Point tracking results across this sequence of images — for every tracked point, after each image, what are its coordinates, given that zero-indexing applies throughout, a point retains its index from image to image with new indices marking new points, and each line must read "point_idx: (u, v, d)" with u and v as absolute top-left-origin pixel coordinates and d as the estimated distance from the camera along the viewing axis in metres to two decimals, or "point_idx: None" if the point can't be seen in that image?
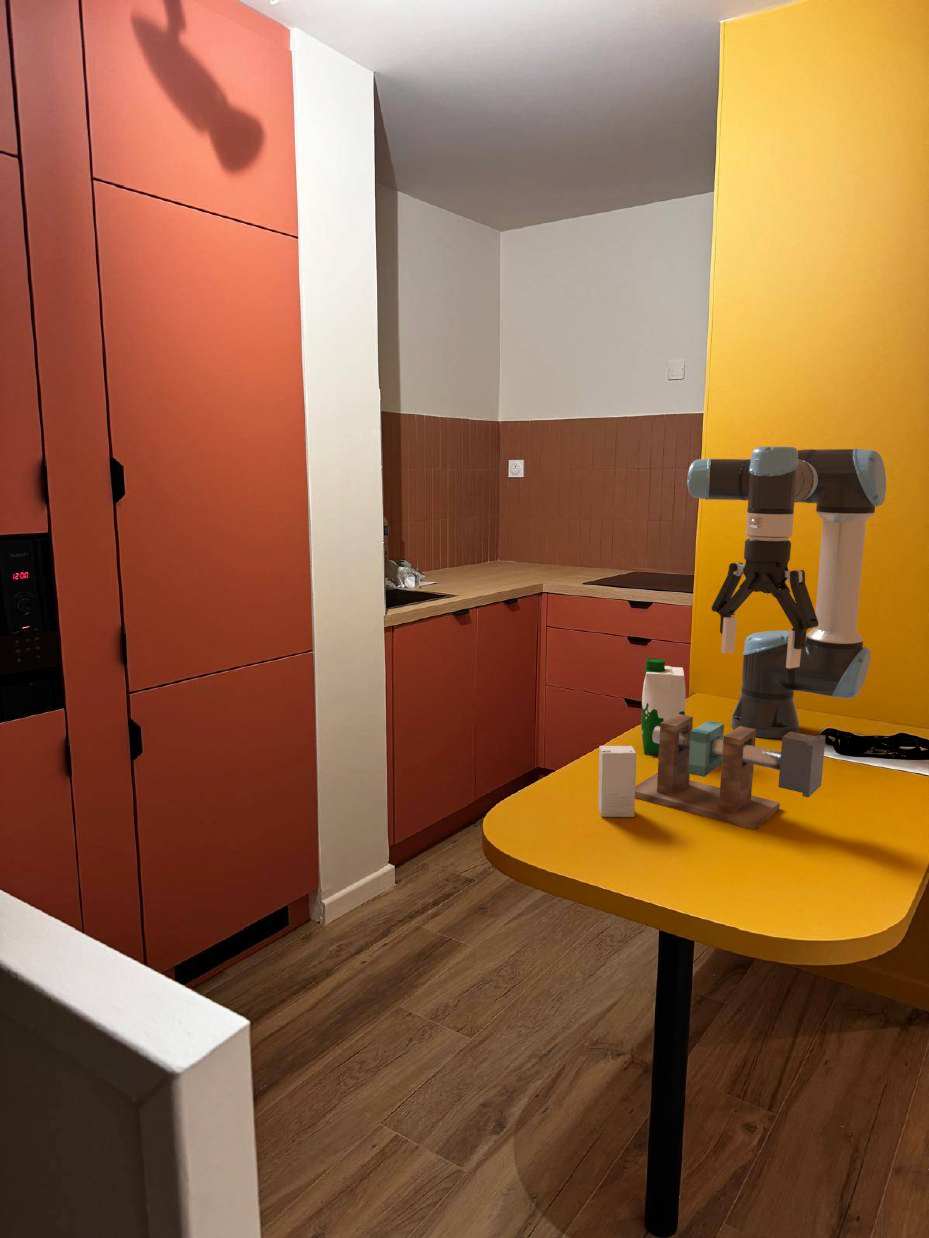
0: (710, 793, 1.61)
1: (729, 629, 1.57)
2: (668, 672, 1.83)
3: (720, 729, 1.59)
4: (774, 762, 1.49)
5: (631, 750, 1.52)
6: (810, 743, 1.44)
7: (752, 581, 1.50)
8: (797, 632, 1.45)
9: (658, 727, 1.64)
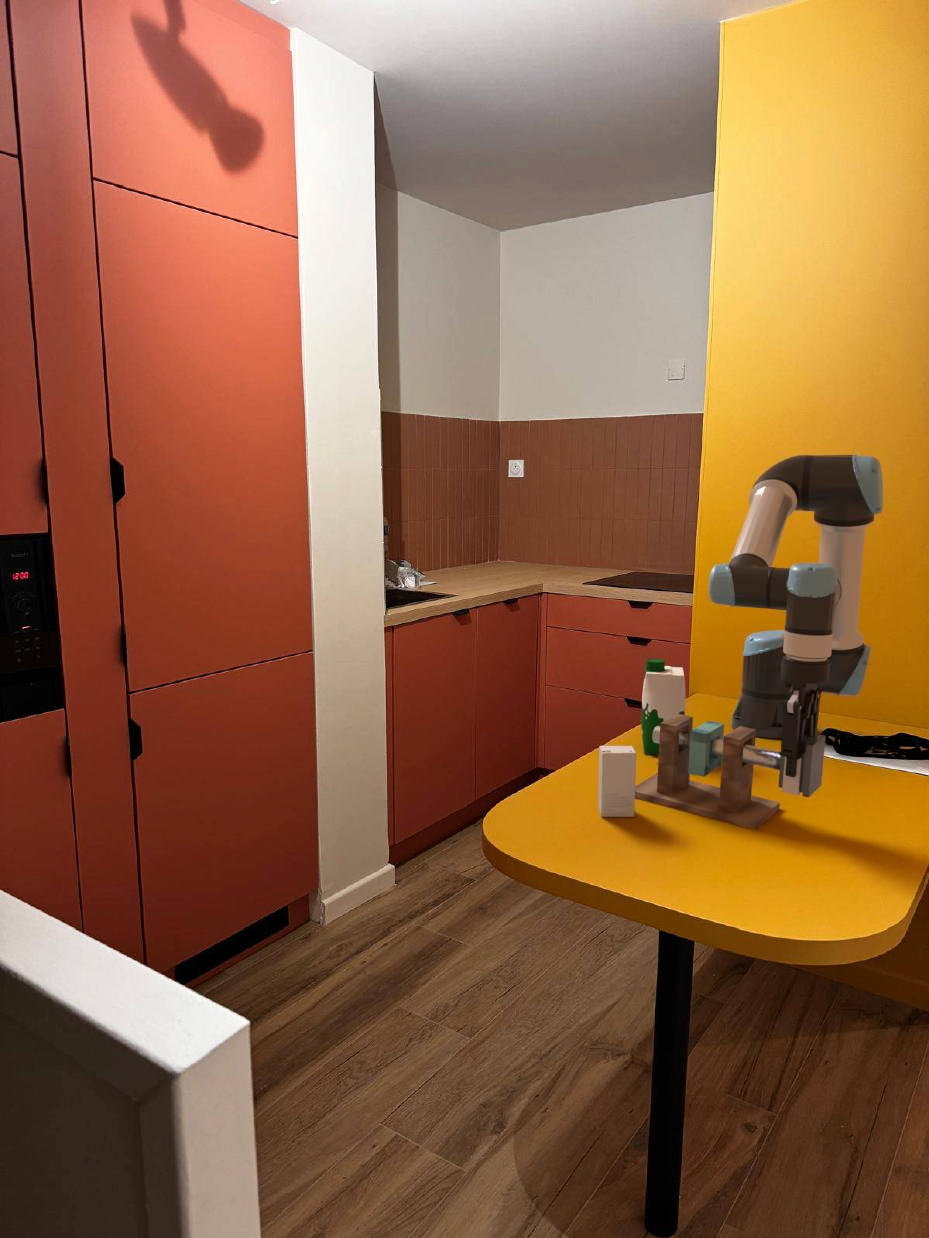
0: (710, 793, 1.61)
1: None
2: (668, 672, 1.83)
3: (720, 729, 1.59)
4: (774, 762, 1.49)
5: (631, 750, 1.52)
6: (810, 743, 1.44)
7: None
8: None
9: (658, 727, 1.64)
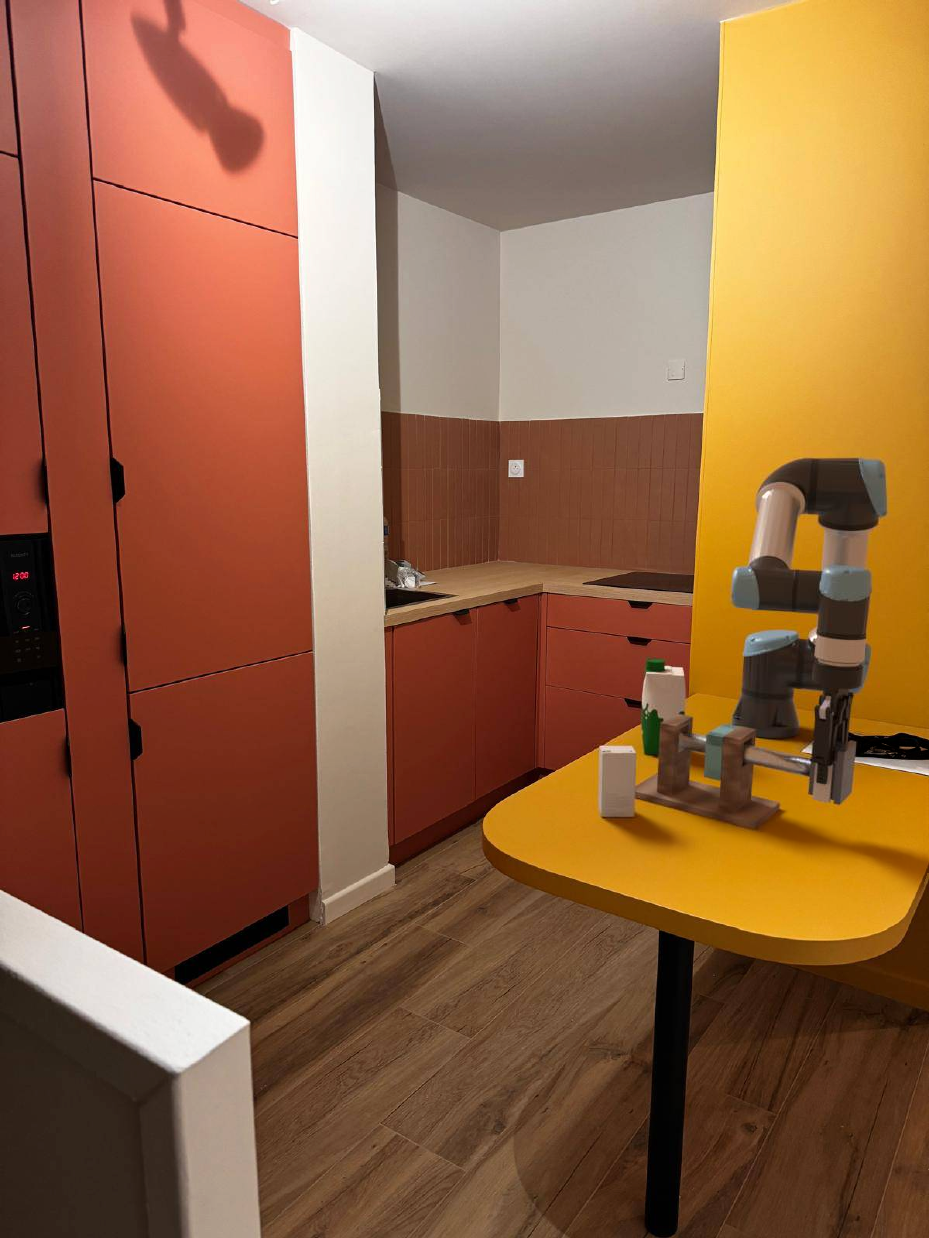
0: (710, 793, 1.61)
1: None
2: (668, 672, 1.83)
3: None
4: (804, 769, 1.46)
5: (631, 750, 1.52)
6: (842, 749, 1.41)
7: None
8: None
9: (683, 732, 1.61)
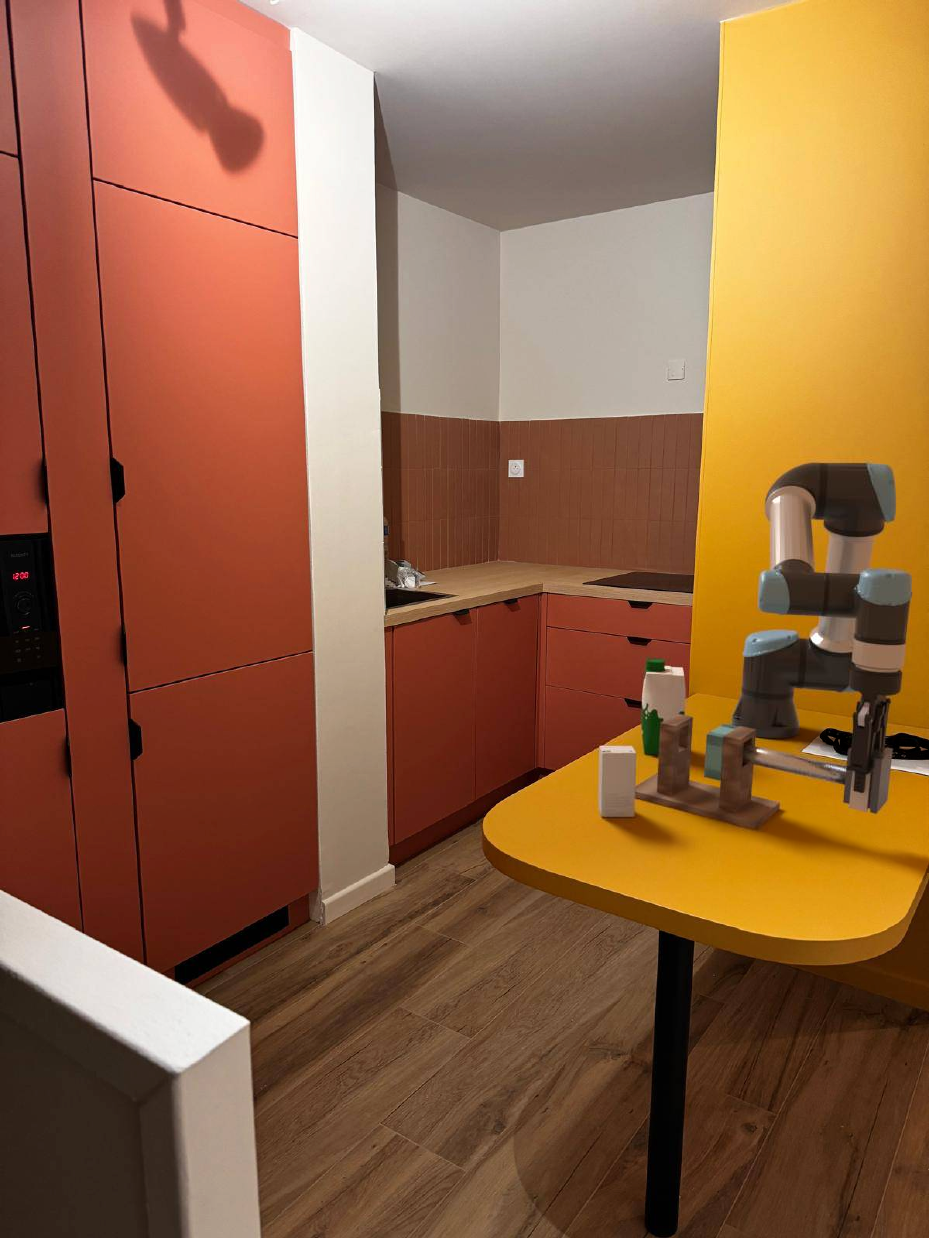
0: (710, 793, 1.61)
1: None
2: (668, 672, 1.83)
3: None
4: (839, 776, 1.43)
5: (631, 750, 1.52)
6: (879, 757, 1.38)
7: None
8: None
9: None
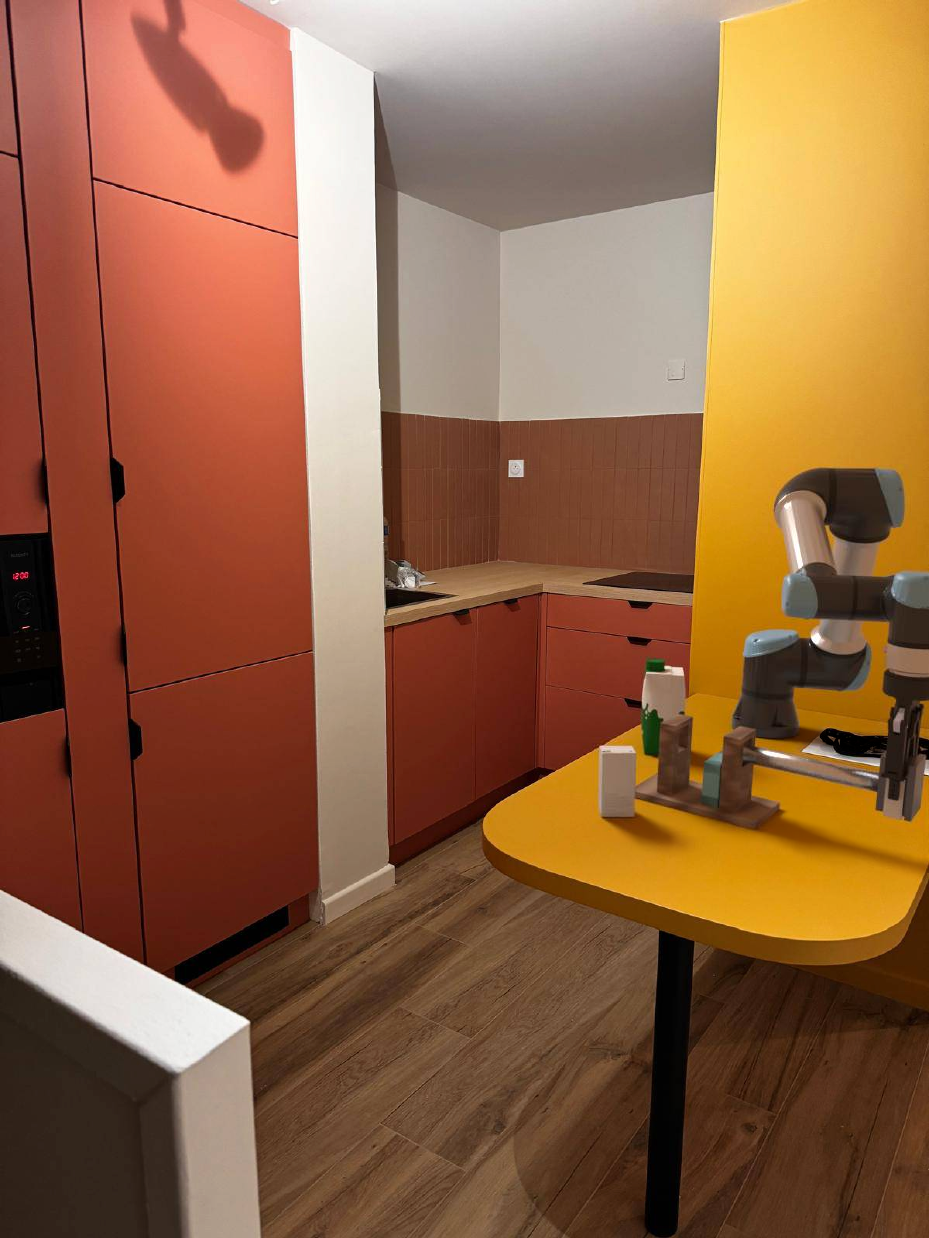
0: None
1: None
2: (668, 672, 1.83)
3: None
4: (871, 783, 1.40)
5: (631, 750, 1.52)
6: (913, 764, 1.35)
7: None
8: None
9: None
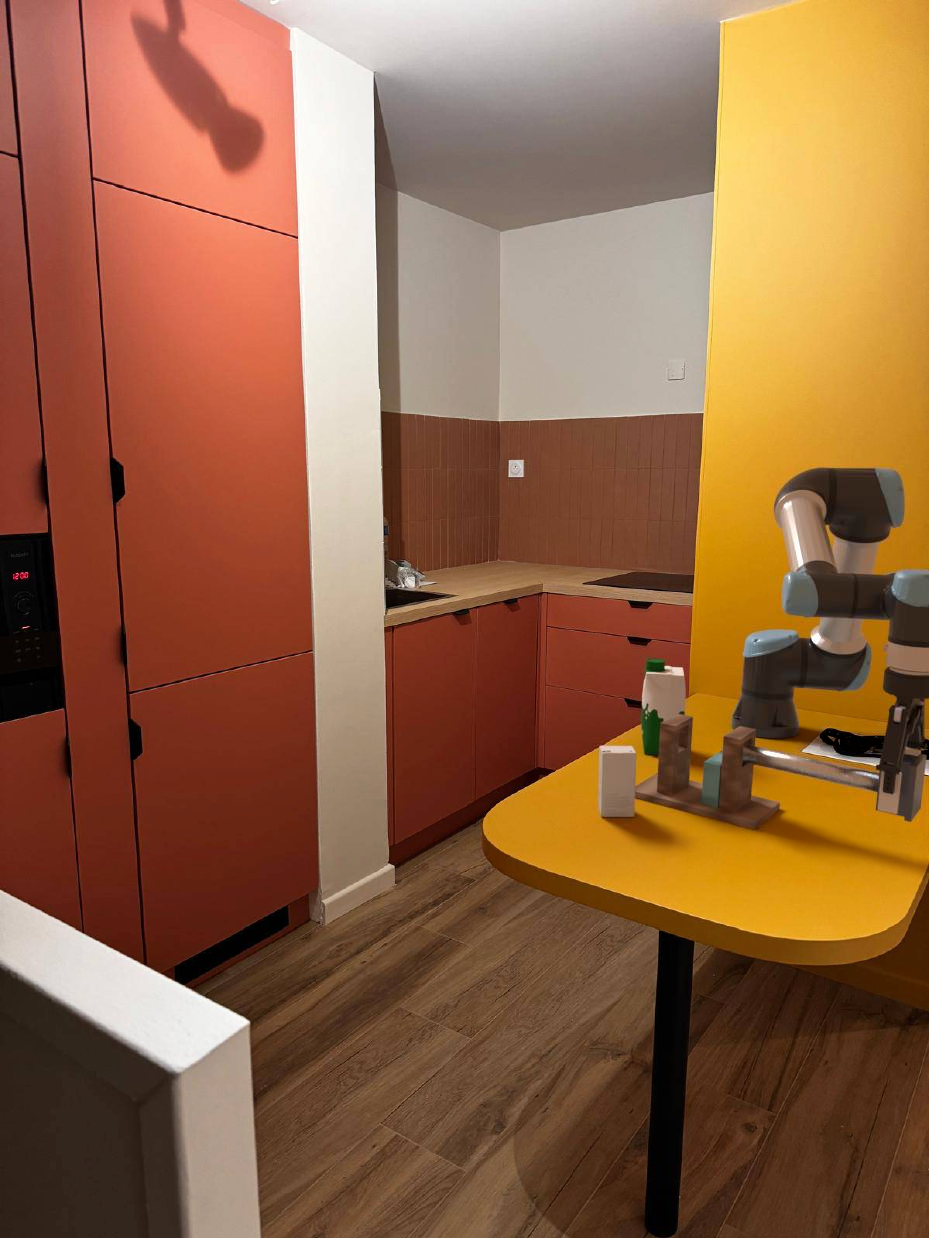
0: None
1: None
2: (668, 672, 1.83)
3: None
4: (871, 783, 1.40)
5: (631, 750, 1.52)
6: (913, 764, 1.35)
7: None
8: None
9: None
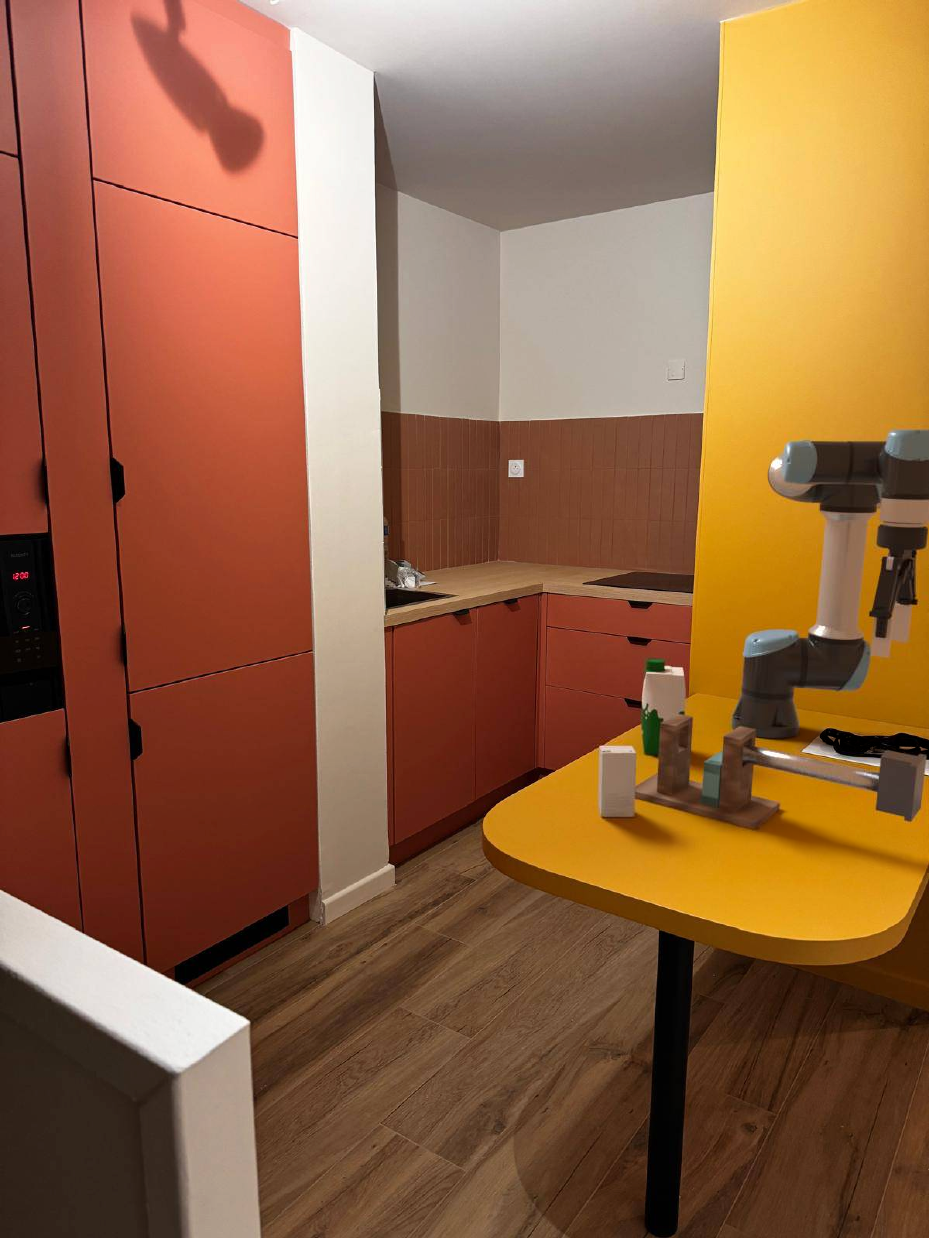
0: None
1: (898, 617, 1.53)
2: (668, 672, 1.83)
3: None
4: (871, 783, 1.40)
5: (631, 750, 1.52)
6: (913, 764, 1.35)
7: None
8: None
9: None
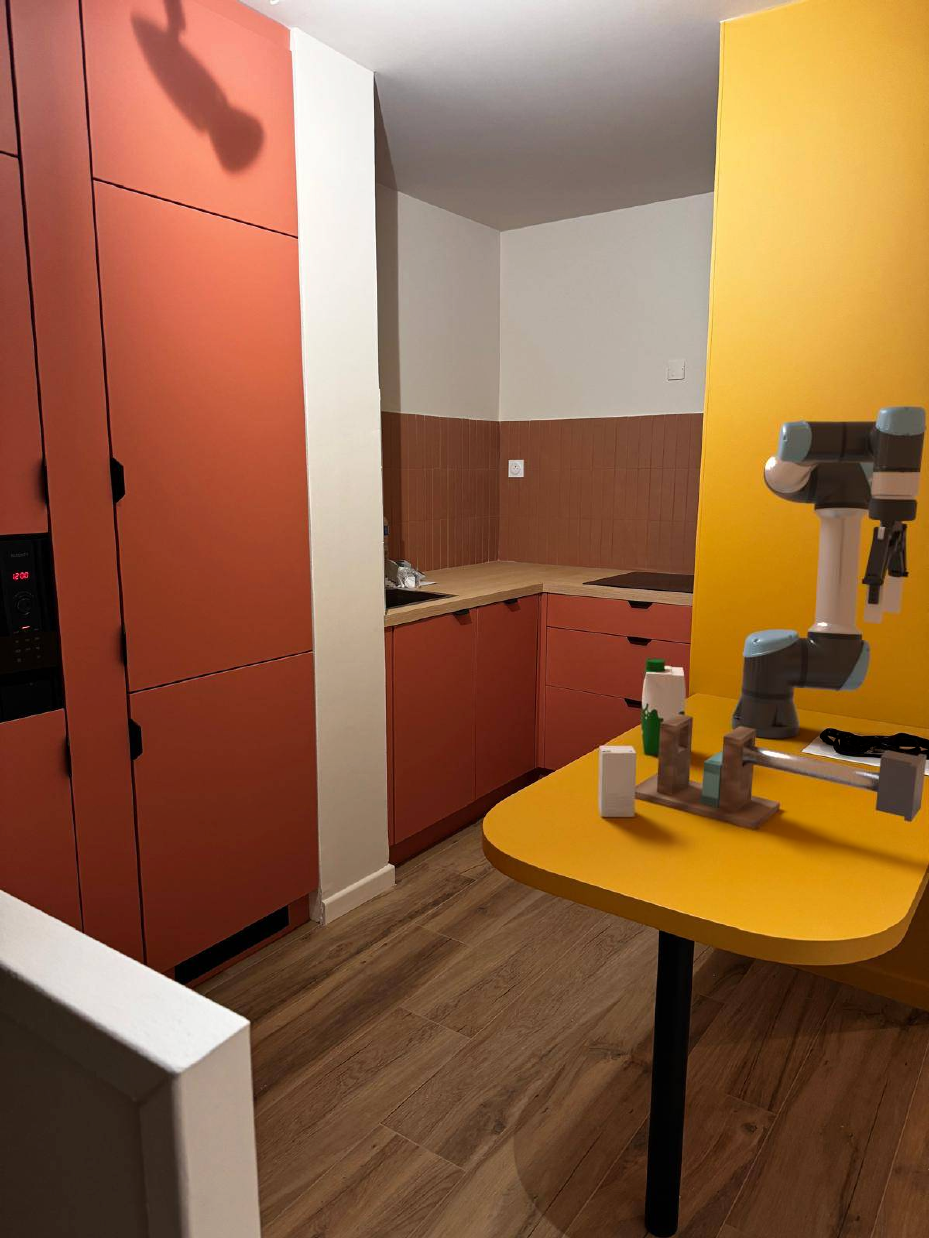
0: None
1: (890, 588, 1.60)
2: (668, 672, 1.83)
3: None
4: (871, 783, 1.40)
5: (631, 750, 1.52)
6: (913, 764, 1.35)
7: None
8: None
9: None
